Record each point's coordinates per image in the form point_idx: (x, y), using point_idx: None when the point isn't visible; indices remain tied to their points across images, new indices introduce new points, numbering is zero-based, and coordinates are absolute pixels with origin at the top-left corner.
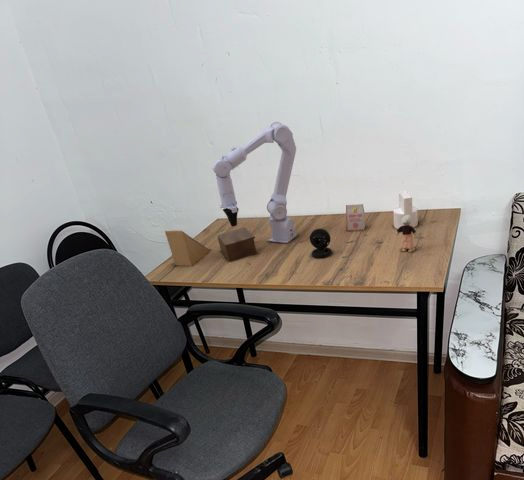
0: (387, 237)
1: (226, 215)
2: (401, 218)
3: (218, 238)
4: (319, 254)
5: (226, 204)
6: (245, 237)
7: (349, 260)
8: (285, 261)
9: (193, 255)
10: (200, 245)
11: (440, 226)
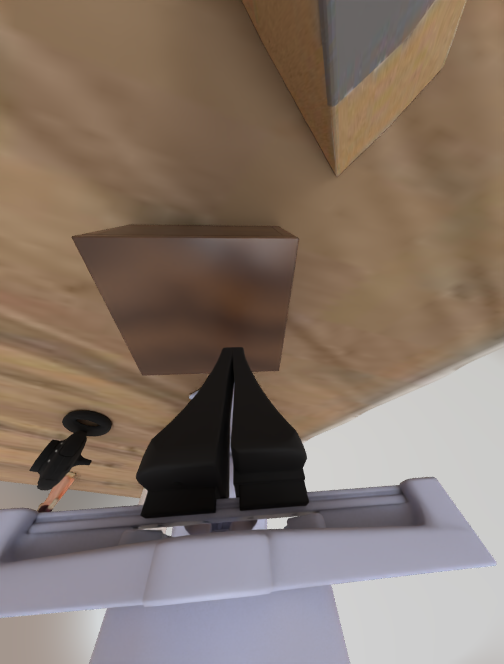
0: (127, 471)
1: (262, 396)
2: (141, 500)
3: (277, 235)
4: (64, 422)
5: (93, 657)
6: (152, 349)
7: (43, 437)
8: (68, 369)
9: None
10: (319, 49)
11: (135, 494)
